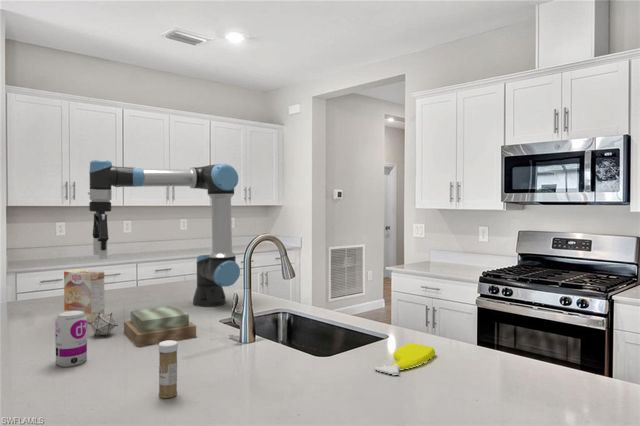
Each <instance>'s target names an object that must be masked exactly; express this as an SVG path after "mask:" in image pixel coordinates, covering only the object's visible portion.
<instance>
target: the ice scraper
mask: <svg viewBox="0 0 640 426" xmlns="http://www.w3.org/2000/svg"><path fill="white" fill-rule="evenodd" d="M434 355H435V356H436V351H435V349H434V347H433V346H428V345H423V344H419V343H414V342H409V343H406V344H405V345H403V346H400V347H399V348H398V349H396V350H394V352H393V359H394V360H395V359H396V360H398V361H396V360H395V361H396V362H393V363H391V365H388V366H386V364H385V363H383V366H379V367H377V366H375V367H374V366H373V367H374V369H373V371H375V370H377V371H376V372H378V371H380V372H379V373H381V372H385V373H390V374H399V375H400V371H398V370H400V369H406V368H410V367H413V366H416V365H419V364H422V363H424V362H426V361H428V360H429V359H431V358H432V357H433V356H434ZM435 356H434V357H435ZM434 357H433V358H434ZM433 358H432V359H433ZM432 359H431V360H432ZM385 373H384V374H385Z"/></svg>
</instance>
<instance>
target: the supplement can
mask: <svg viewBox="0 0 640 426" xmlns="http://www.w3.org/2000/svg"><path fill="white" fill-rule="evenodd" d="M54 320H55V321H54V323H55V328H54V329H55V332H54V333H55V335H54V336H55V364H56V365H58V366H59V367H62V368H64V367H65V368H67V367H74V366H79V365H81V364H83V363H85V361H87V359H88V346H87V345H88V344H87V343H88V336H87V334H88V328H87V327H88V322H87V317H86V315H85V313H84V311H82V310H71V311H61V312H59V313H58V314H57V316H56V318H55V319H54Z"/></svg>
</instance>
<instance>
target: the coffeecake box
mask: <svg viewBox="0 0 640 426" xmlns="http://www.w3.org/2000/svg"><path fill="white" fill-rule="evenodd" d="M63 283H64V284H63V286H64V287H63V288H64V289H63V291H64V293H63V296H64V297H63V303H64V308H63V309H64V311H71V310H82V311H84V313H85V315H86V317H87V323H92V322H93V320H94V319H95V318H96V317H97V316H98V315H99V314H98V313H100V314H105V271H103V270H102V271H99V270H91V269H81V268H80V269H79V268H75V269H71V270H70V269H68V270H64V271H63ZM64 311H63V312H64Z"/></svg>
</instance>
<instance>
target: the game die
mask: <svg viewBox="0 0 640 426" xmlns="http://www.w3.org/2000/svg"><path fill="white" fill-rule="evenodd" d="M98 314H99V315H98V316H97V317H96V318H95V319H94V320H93V322H87V325H91V329H92V330H93V332H94V334H93V337H96V336H97V335H103V336H106V338H109V334H110V333H111V331H113V330H114V328H116V327H119V324H116V323H115V320H114V319H113V316H112V315H113V312H111V313H110V314H105V313H104V314H100V313H98Z"/></svg>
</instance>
